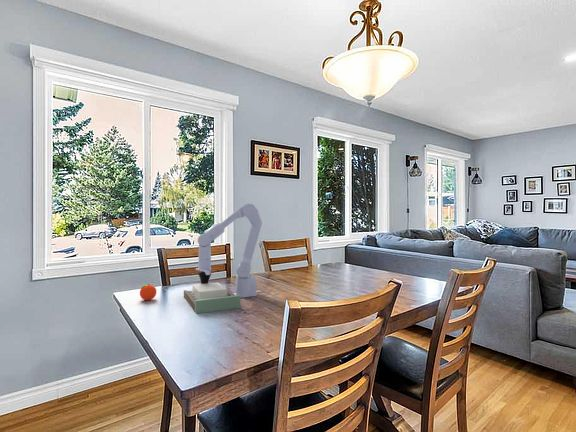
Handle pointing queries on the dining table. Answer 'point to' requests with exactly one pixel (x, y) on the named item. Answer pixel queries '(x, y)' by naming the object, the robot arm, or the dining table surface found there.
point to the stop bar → (217, 303)
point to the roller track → (195, 297)
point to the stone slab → (209, 290)
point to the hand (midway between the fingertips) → (204, 287)
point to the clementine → (147, 292)
